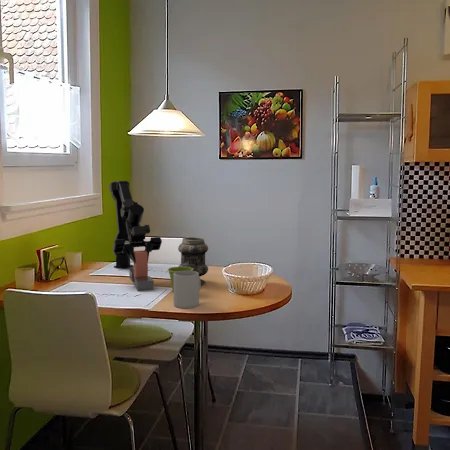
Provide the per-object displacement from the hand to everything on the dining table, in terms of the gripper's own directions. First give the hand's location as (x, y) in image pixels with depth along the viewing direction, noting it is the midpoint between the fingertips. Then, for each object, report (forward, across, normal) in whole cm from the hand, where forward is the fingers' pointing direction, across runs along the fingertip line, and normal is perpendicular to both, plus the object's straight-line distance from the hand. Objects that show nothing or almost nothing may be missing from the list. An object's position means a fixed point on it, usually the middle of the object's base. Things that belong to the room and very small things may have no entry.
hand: (141, 262), depth 203 cm
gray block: (+5, 0, +7) cm, 9 cm away
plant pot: (+19, +10, -6) cm, 22 cm away
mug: (+30, +8, -18) cm, 36 cm away
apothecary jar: (+11, +19, +2) cm, 22 cm away
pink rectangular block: (+4, 0, +6) cm, 7 cm away
